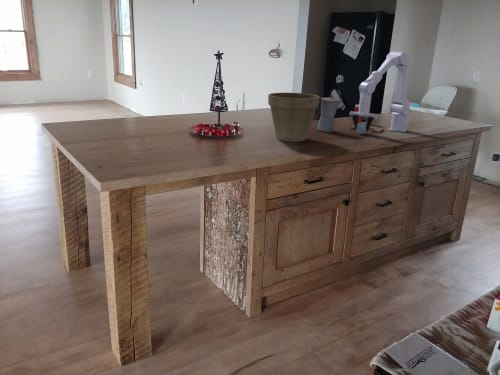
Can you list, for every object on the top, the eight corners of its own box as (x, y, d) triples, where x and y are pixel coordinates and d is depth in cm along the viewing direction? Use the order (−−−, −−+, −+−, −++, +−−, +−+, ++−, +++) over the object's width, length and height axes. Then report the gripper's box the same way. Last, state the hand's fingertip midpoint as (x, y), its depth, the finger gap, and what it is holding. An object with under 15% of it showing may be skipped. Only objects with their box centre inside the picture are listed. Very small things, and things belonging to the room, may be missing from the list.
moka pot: (338, 133, 242) (342, 96, 235) (309, 131, 244) (313, 94, 238) (338, 130, 251) (342, 93, 244) (311, 128, 253) (314, 92, 247)
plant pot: (258, 134, 231) (260, 91, 224) (301, 132, 240) (304, 91, 233) (278, 145, 209) (281, 98, 202) (324, 143, 218) (329, 98, 211)
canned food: (363, 125, 268) (365, 106, 265) (350, 123, 273) (353, 105, 269) (368, 123, 274) (370, 105, 271) (356, 121, 279) (358, 104, 275)
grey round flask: (357, 131, 249) (358, 121, 247) (367, 132, 246) (368, 122, 245) (352, 134, 241) (354, 123, 240) (363, 135, 239) (364, 125, 237)
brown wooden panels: (383, 129, 257) (383, 127, 257) (379, 133, 248) (379, 130, 248) (355, 126, 264) (356, 124, 264) (350, 129, 255) (350, 127, 255)
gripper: (349, 104, 240) (346, 129, 245) (376, 107, 234) (373, 132, 238) (352, 102, 246) (350, 127, 251) (379, 105, 240) (376, 130, 244)
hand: (361, 130), depth 245 cm, fingers closed on grey round flask, 6 cm apart
